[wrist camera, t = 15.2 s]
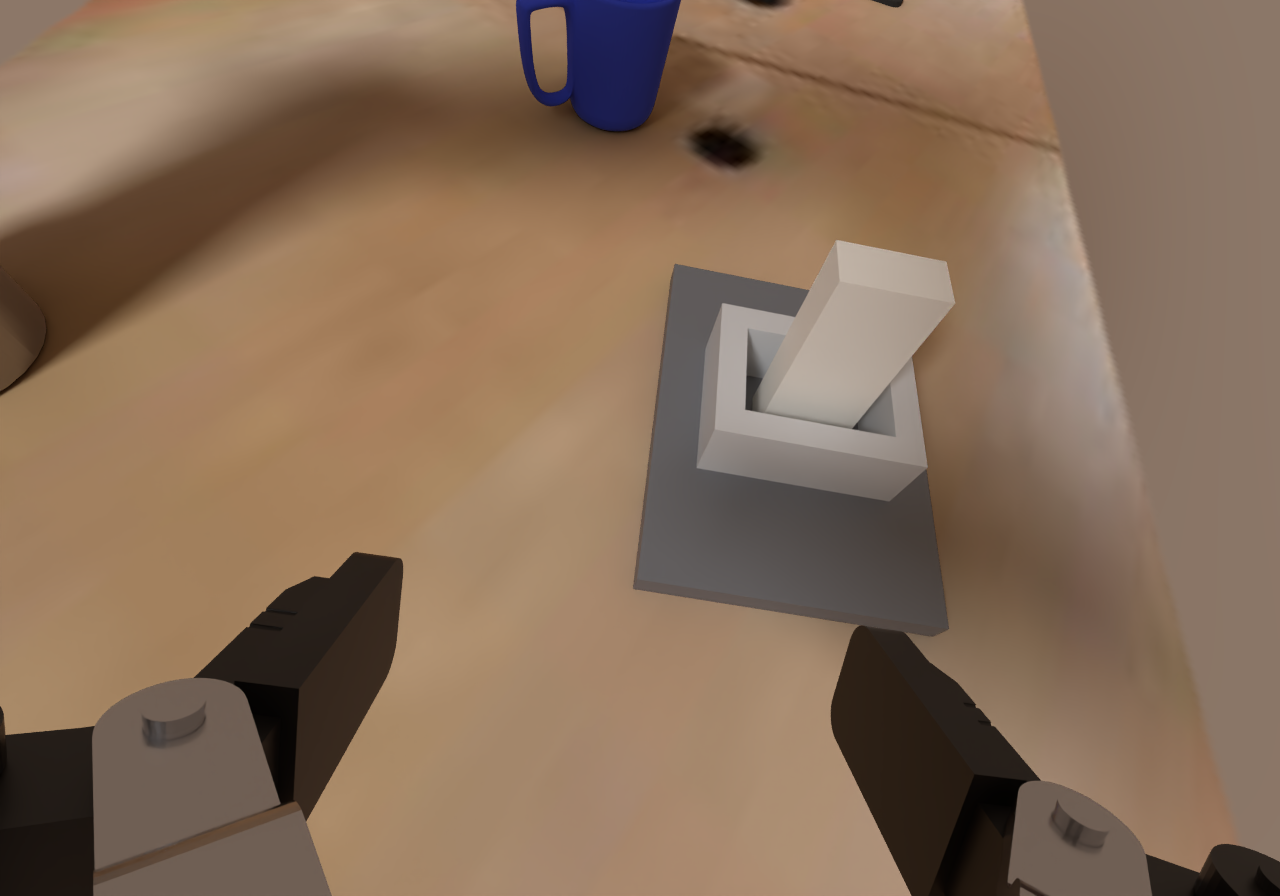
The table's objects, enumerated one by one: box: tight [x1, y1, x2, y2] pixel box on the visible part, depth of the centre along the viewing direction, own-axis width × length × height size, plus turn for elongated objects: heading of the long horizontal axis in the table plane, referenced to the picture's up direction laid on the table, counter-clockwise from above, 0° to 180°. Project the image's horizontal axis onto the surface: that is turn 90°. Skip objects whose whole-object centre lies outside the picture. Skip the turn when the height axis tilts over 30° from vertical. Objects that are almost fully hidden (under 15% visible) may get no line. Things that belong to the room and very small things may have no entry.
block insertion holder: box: [633, 264, 949, 636], centre depth 36 cm, size 22×16×6 cm
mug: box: [516, 0, 681, 131], centre depth 47 cm, size 8×12×10 cm
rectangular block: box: [752, 240, 955, 429], centre depth 32 cm, size 2×5×12 cm, turn 84°
